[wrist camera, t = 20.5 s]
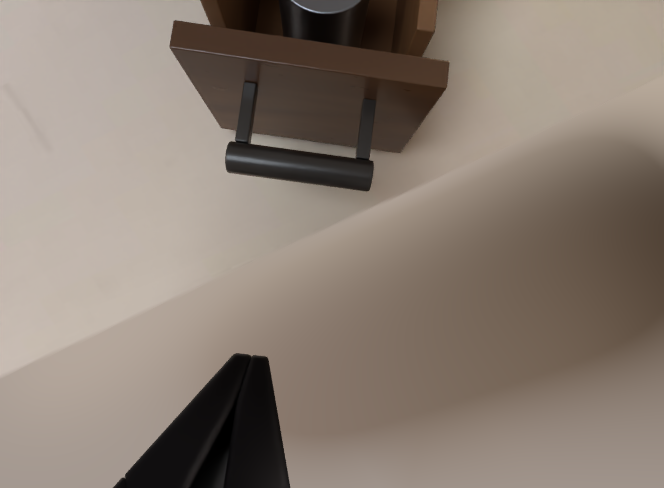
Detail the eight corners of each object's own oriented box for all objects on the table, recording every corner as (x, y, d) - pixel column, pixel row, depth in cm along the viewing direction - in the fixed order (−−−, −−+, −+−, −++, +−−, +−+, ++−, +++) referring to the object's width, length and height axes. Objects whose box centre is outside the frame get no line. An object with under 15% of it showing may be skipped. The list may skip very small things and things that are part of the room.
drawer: (393, 218, 23) (437, 187, 15) (210, 194, 23) (151, 148, 14) (423, -57, 25) (478, -223, 16) (253, -84, 24) (222, -269, 16)
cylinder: (370, 70, 23) (392, -12, 16) (306, 100, 22) (303, 30, 16) (336, 8, 23) (346, -96, 16) (273, 38, 22) (256, -57, 16)
